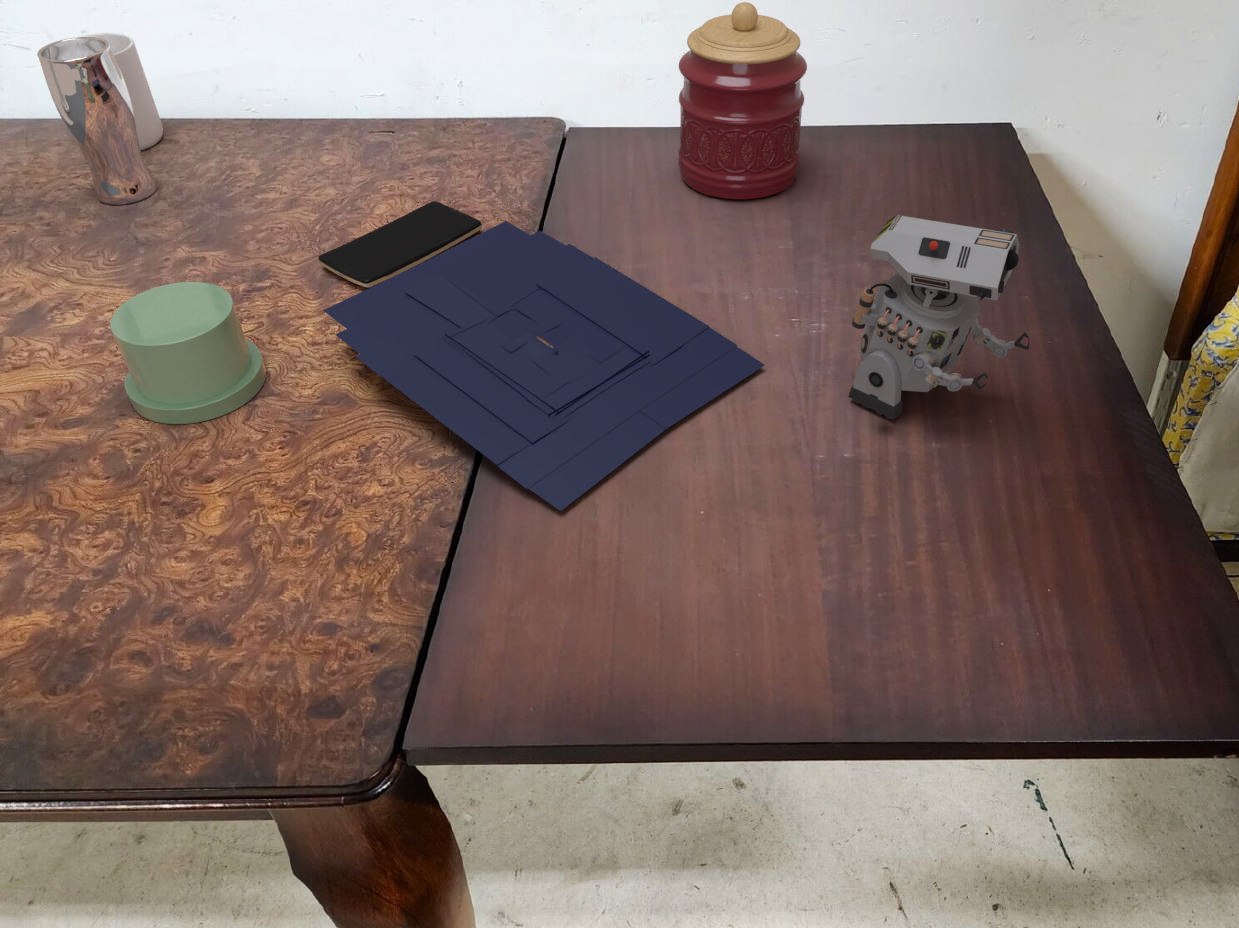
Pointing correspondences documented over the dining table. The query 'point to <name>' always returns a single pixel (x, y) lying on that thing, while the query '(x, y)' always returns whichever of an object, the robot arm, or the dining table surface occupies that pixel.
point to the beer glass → (98, 116)
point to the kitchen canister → (741, 106)
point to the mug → (135, 88)
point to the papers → (539, 356)
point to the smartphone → (400, 244)
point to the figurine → (928, 308)
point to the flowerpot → (186, 353)
